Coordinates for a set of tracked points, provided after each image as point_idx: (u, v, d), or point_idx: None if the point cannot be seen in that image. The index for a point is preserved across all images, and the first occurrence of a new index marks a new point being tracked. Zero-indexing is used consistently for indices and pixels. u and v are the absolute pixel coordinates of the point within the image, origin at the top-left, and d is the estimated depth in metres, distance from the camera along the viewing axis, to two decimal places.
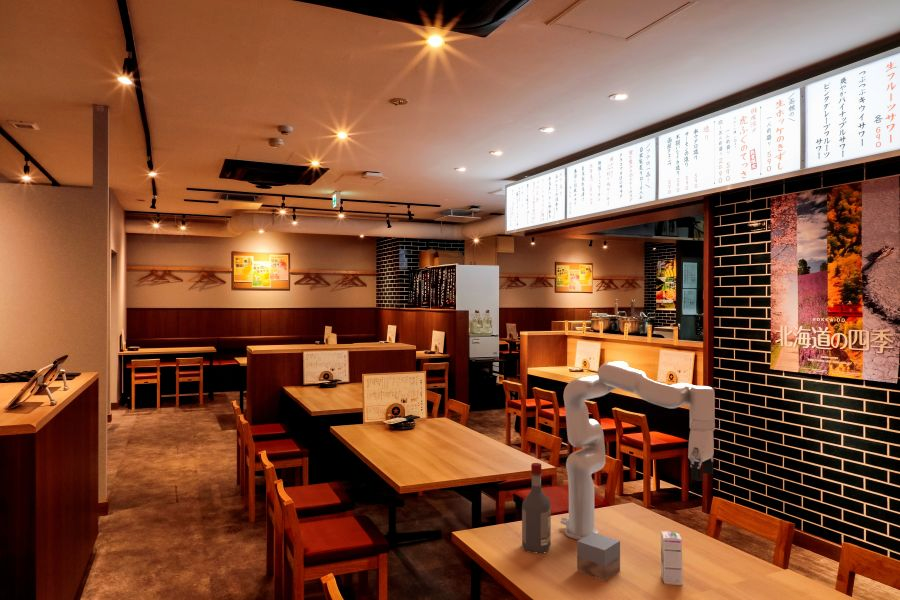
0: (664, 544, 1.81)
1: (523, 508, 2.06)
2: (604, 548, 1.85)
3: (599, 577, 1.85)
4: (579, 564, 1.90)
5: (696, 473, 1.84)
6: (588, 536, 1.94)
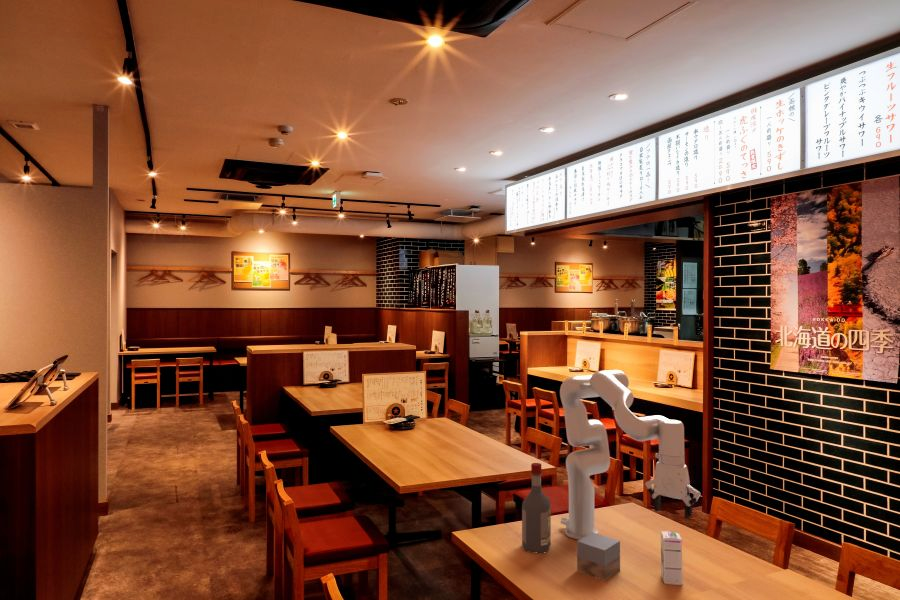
0: (664, 544, 1.81)
1: (523, 508, 2.06)
2: (604, 548, 1.85)
3: (599, 577, 1.85)
4: (579, 564, 1.90)
5: (691, 510, 1.80)
6: (588, 536, 1.94)
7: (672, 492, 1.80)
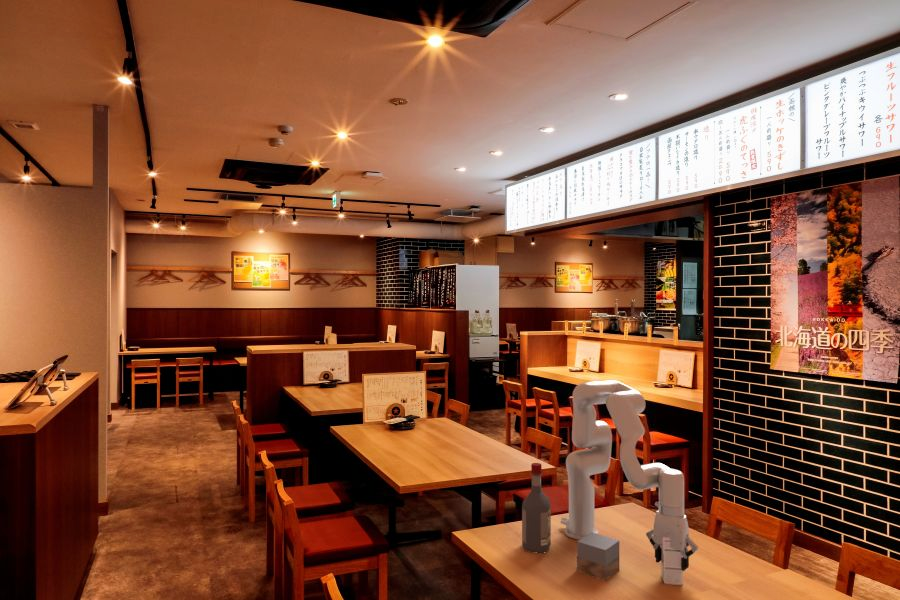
0: (664, 544, 1.81)
1: (523, 508, 2.06)
2: (605, 548, 1.85)
3: (599, 577, 1.85)
4: (578, 564, 1.90)
5: (688, 561, 1.80)
6: (587, 536, 1.94)
7: (671, 543, 1.81)
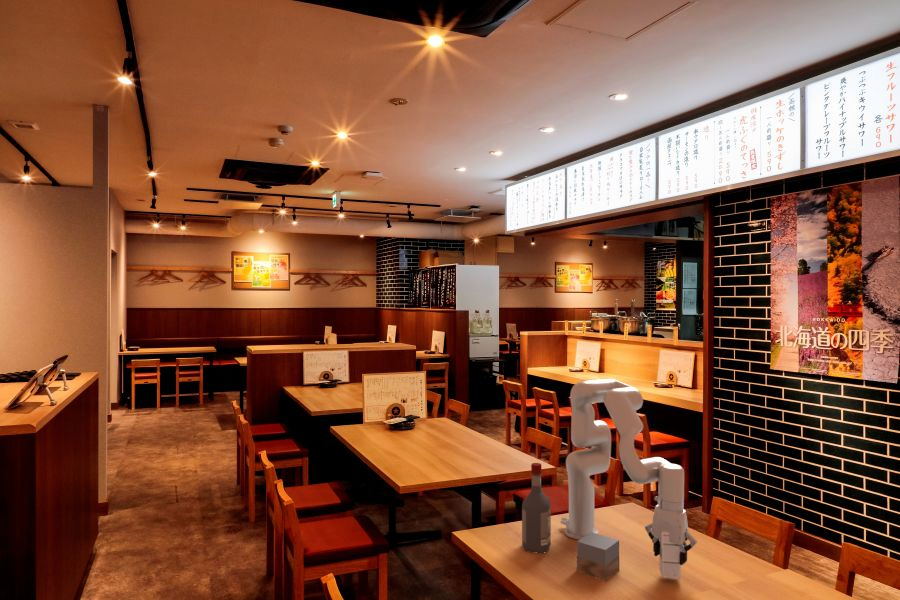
0: (663, 538, 1.82)
1: (523, 508, 2.06)
2: (605, 548, 1.85)
3: (599, 577, 1.85)
4: (578, 564, 1.90)
5: (686, 556, 1.81)
6: (587, 536, 1.94)
7: (670, 537, 1.81)
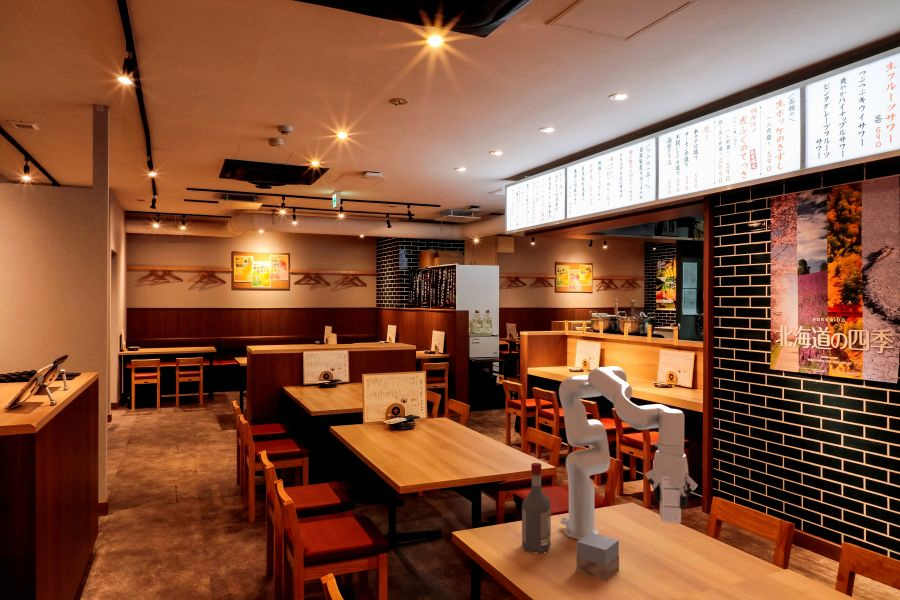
0: (663, 482, 1.82)
1: (523, 508, 2.06)
2: (605, 548, 1.85)
3: (598, 577, 1.85)
4: (578, 564, 1.90)
5: None
6: (587, 536, 1.94)
7: (670, 481, 1.81)
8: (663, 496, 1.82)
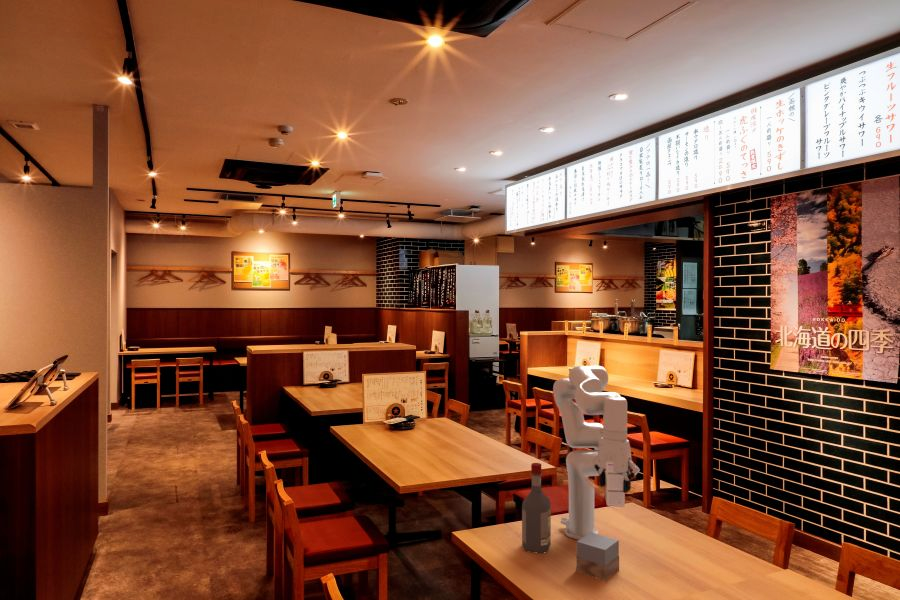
0: (607, 467, 1.87)
1: (523, 508, 2.06)
2: (604, 548, 1.85)
3: (598, 577, 1.85)
4: (578, 564, 1.90)
5: (630, 484, 1.86)
6: (587, 536, 1.94)
7: (614, 466, 1.86)
8: (607, 481, 1.87)
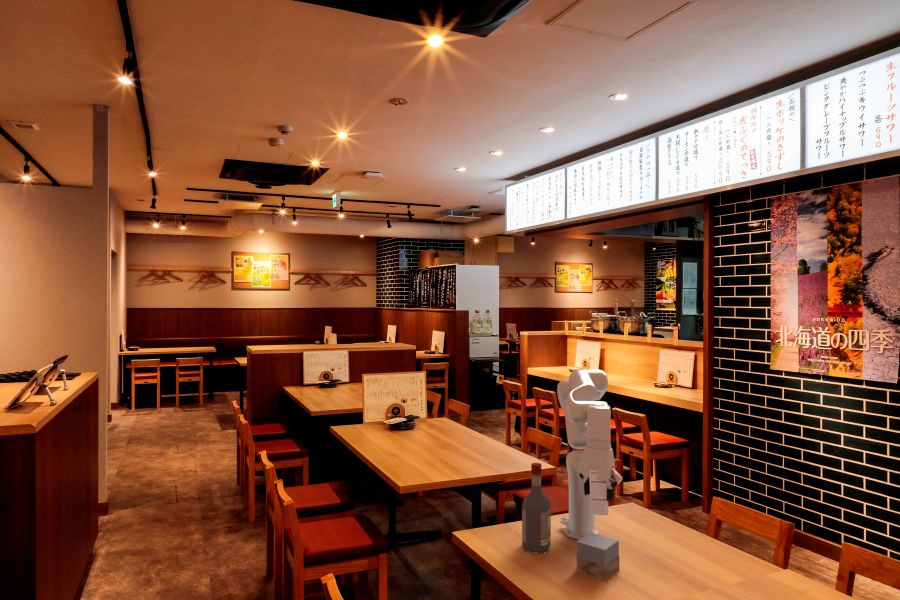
0: (591, 476, 1.88)
1: (523, 508, 2.06)
2: (604, 548, 1.85)
3: (599, 577, 1.85)
4: (578, 564, 1.90)
5: (613, 492, 1.87)
6: (587, 536, 1.94)
7: (597, 474, 1.88)
8: (591, 489, 1.88)
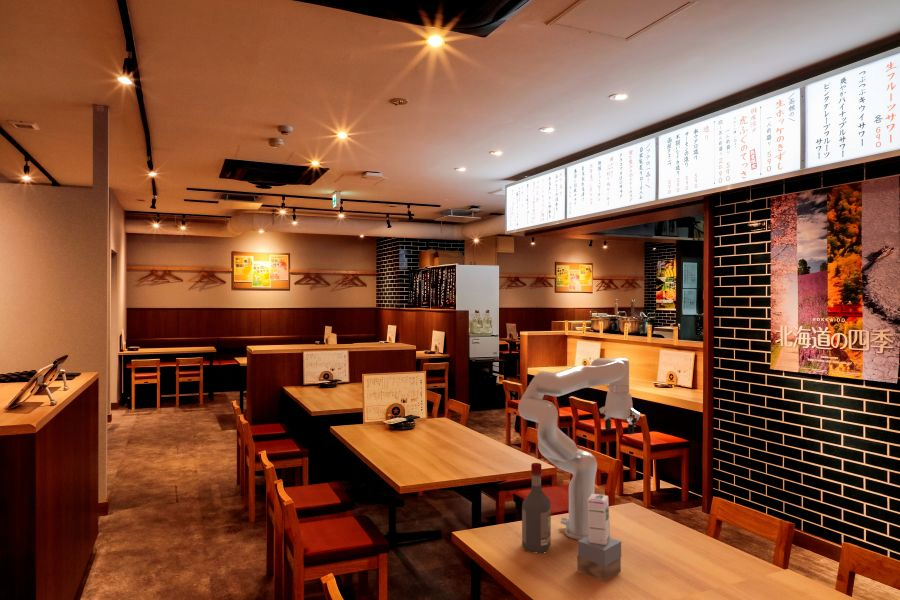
0: (588, 504, 1.89)
1: (523, 508, 2.06)
2: (604, 548, 1.84)
3: (599, 577, 1.84)
4: (579, 564, 1.90)
5: (633, 427, 2.27)
6: None
7: (618, 414, 2.28)
8: (589, 518, 1.89)
